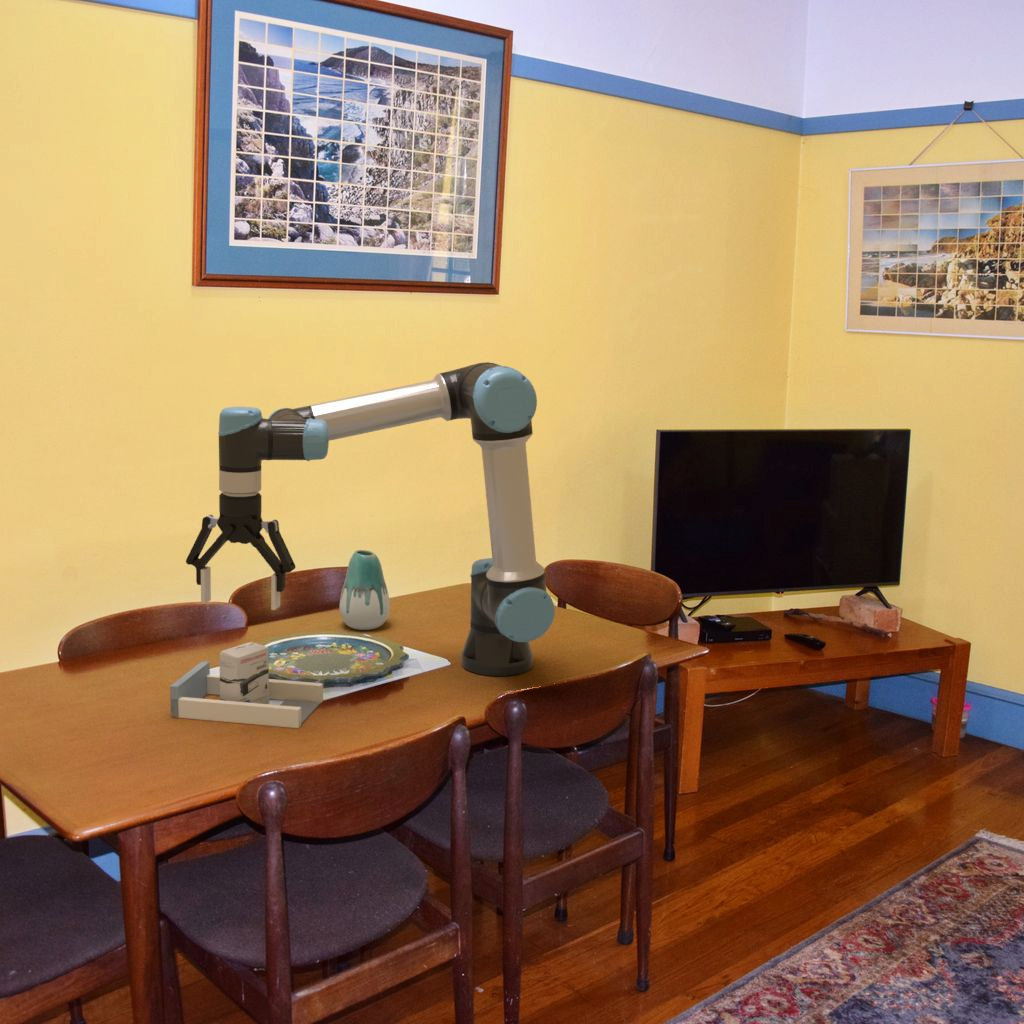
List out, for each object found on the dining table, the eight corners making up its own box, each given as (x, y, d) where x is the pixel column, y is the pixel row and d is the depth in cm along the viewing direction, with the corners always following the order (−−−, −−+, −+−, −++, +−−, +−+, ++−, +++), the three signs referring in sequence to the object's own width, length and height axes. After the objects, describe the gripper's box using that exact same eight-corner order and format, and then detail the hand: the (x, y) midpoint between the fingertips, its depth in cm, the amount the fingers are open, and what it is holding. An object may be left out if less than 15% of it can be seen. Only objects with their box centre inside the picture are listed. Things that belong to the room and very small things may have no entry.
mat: (320, 704, 231) (320, 702, 231) (301, 724, 221) (301, 722, 221) (285, 701, 232) (285, 699, 232) (265, 721, 222) (265, 719, 222)
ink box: (238, 718, 223) (237, 657, 221) (219, 712, 226) (217, 652, 223) (270, 704, 230) (269, 645, 228) (251, 699, 233) (250, 640, 231)
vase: (399, 624, 283) (400, 550, 279) (368, 636, 273) (368, 560, 269) (361, 616, 289) (361, 543, 285) (329, 627, 279) (328, 552, 276)
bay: (323, 700, 233) (323, 671, 232) (298, 728, 219) (298, 696, 218) (203, 690, 237) (202, 661, 236) (171, 716, 223) (170, 686, 222)
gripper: (312, 493, 221) (311, 605, 226) (184, 484, 225) (185, 594, 229) (299, 501, 214) (298, 616, 218) (166, 491, 218) (168, 604, 222)
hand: (240, 605), depth 224 cm, fingers open, 13 cm apart
